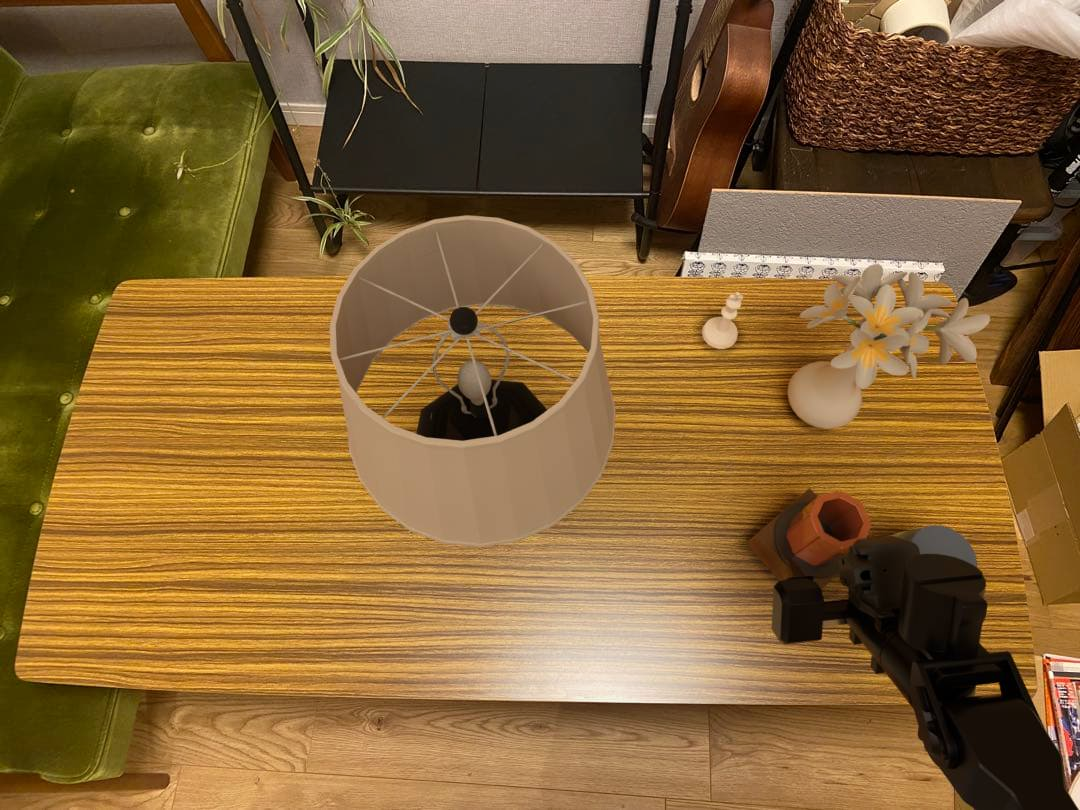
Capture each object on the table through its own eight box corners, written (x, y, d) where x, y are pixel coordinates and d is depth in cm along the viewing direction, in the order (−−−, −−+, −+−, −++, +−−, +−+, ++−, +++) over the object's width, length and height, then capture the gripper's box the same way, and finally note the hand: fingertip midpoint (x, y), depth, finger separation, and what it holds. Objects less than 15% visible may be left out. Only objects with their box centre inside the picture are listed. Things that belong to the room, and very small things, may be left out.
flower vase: (902, 438, 92) (1020, 342, 70) (766, 456, 91) (840, 365, 69) (868, 352, 98) (968, 237, 75) (739, 368, 97) (801, 257, 74)
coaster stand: (850, 556, 86) (870, 545, 81) (799, 603, 83) (816, 594, 78) (796, 500, 89) (811, 486, 84) (745, 544, 86) (758, 532, 81)
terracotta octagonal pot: (848, 529, 82) (878, 509, 74) (829, 574, 79) (858, 558, 72) (799, 503, 83) (824, 482, 76) (779, 547, 81) (803, 529, 73)
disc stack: (958, 580, 85) (1003, 564, 76) (910, 628, 82) (950, 617, 74) (899, 523, 88) (936, 501, 79) (851, 567, 85) (884, 550, 77)
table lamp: (563, 365, 97) (576, 146, 61) (630, 552, 86) (694, 420, 50) (369, 417, 94) (262, 217, 57) (413, 618, 83) (314, 528, 47)
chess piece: (738, 349, 98) (759, 310, 89) (703, 348, 98) (720, 309, 89) (735, 319, 100) (754, 277, 91) (700, 318, 100) (716, 277, 91)
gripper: (1027, 563, 60) (921, 483, 75) (813, 586, 59) (748, 501, 74) (1007, 669, 64) (910, 573, 79) (806, 692, 63) (746, 591, 78)
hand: (830, 558), depth 77 cm, fingers open, 9 cm apart
